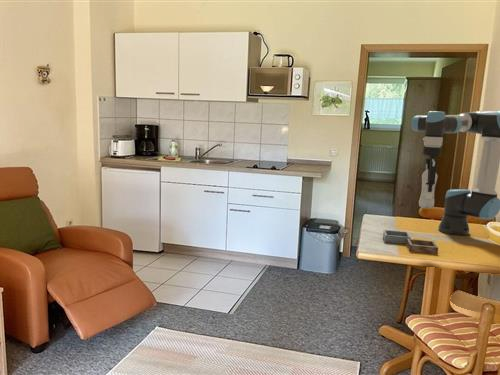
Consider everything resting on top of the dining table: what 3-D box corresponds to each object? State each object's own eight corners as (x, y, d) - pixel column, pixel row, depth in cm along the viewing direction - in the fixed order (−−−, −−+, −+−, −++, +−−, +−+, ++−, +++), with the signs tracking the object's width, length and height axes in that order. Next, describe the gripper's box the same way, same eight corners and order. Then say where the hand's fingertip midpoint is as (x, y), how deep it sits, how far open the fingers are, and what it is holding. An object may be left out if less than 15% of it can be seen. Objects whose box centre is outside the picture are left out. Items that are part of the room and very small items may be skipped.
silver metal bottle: (419, 206, 207) (424, 163, 204) (435, 208, 204) (439, 164, 201) (416, 208, 202) (421, 164, 199) (432, 210, 198) (437, 165, 195)
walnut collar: (432, 247, 210) (433, 240, 210) (437, 254, 199) (438, 247, 199) (406, 244, 212) (406, 238, 212) (409, 251, 202) (410, 244, 201)
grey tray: (407, 238, 223) (407, 231, 222) (410, 244, 213) (410, 237, 212) (382, 236, 225) (383, 229, 225) (384, 242, 215) (385, 235, 214)
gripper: (420, 144, 208) (415, 193, 212) (427, 147, 190) (421, 200, 194) (437, 145, 207) (432, 194, 210) (446, 148, 188) (440, 202, 192)
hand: (427, 197), depth 202 cm, fingers closed on silver metal bottle, 6 cm apart
